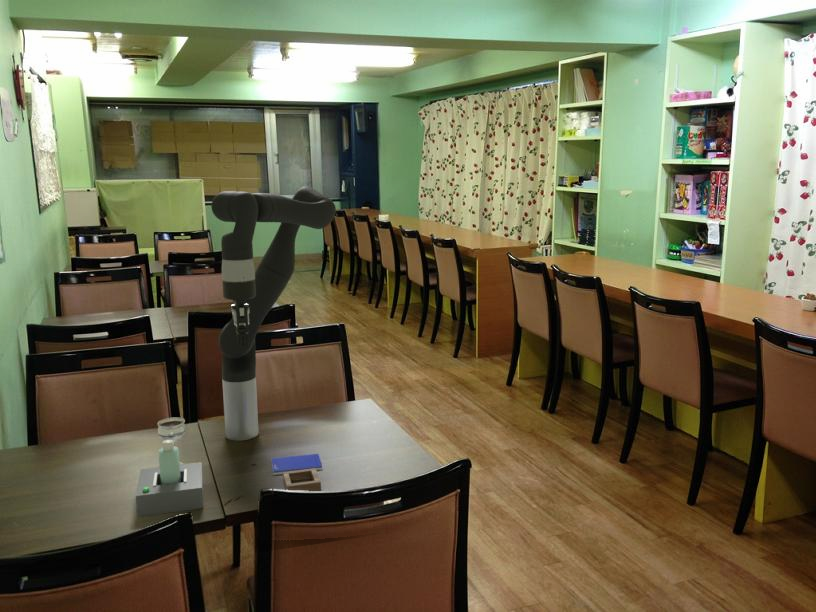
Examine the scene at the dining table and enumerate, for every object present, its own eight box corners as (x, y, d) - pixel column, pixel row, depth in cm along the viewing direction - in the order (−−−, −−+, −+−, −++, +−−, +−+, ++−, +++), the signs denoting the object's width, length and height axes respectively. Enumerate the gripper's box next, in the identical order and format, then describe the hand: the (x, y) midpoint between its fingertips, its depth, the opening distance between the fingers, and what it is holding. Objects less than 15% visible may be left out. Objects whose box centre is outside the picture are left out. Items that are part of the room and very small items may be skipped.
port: (142, 488, 165) (140, 466, 164) (203, 480, 169) (201, 459, 168) (137, 516, 152) (135, 493, 150) (203, 507, 156) (201, 485, 154)
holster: (283, 479, 169) (282, 472, 169) (315, 475, 172) (315, 468, 171) (287, 494, 162) (286, 486, 161) (320, 489, 164) (320, 482, 164)
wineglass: (168, 474, 172) (165, 429, 170) (155, 466, 177) (152, 422, 174) (193, 465, 177) (190, 421, 175) (179, 458, 182) (176, 415, 179)
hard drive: (272, 471, 172) (322, 465, 175) (270, 457, 180) (318, 452, 183) (273, 477, 172) (322, 471, 175) (270, 463, 180) (318, 458, 183)
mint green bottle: (162, 495, 162) (158, 439, 159) (182, 492, 163) (178, 437, 160) (161, 503, 157) (157, 446, 155) (181, 501, 159) (177, 444, 156)
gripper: (257, 281, 155) (260, 351, 158) (252, 272, 168) (255, 336, 172) (223, 283, 153) (227, 353, 156) (221, 273, 166) (224, 338, 169)
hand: (242, 344), depth 164 cm, fingers open, 8 cm apart
